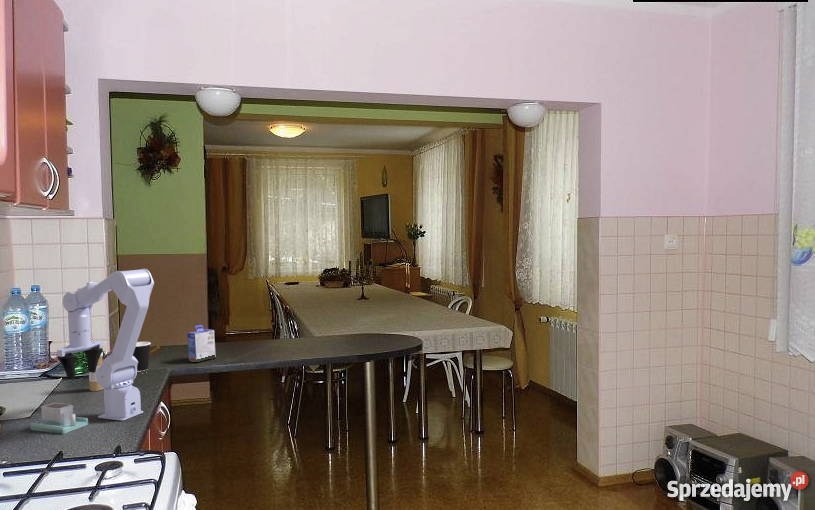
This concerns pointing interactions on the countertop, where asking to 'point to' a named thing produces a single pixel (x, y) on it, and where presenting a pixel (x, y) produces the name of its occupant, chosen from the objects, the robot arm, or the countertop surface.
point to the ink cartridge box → (201, 343)
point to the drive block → (56, 414)
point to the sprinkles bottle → (92, 377)
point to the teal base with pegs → (75, 424)
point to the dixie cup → (142, 355)
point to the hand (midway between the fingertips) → (81, 375)
